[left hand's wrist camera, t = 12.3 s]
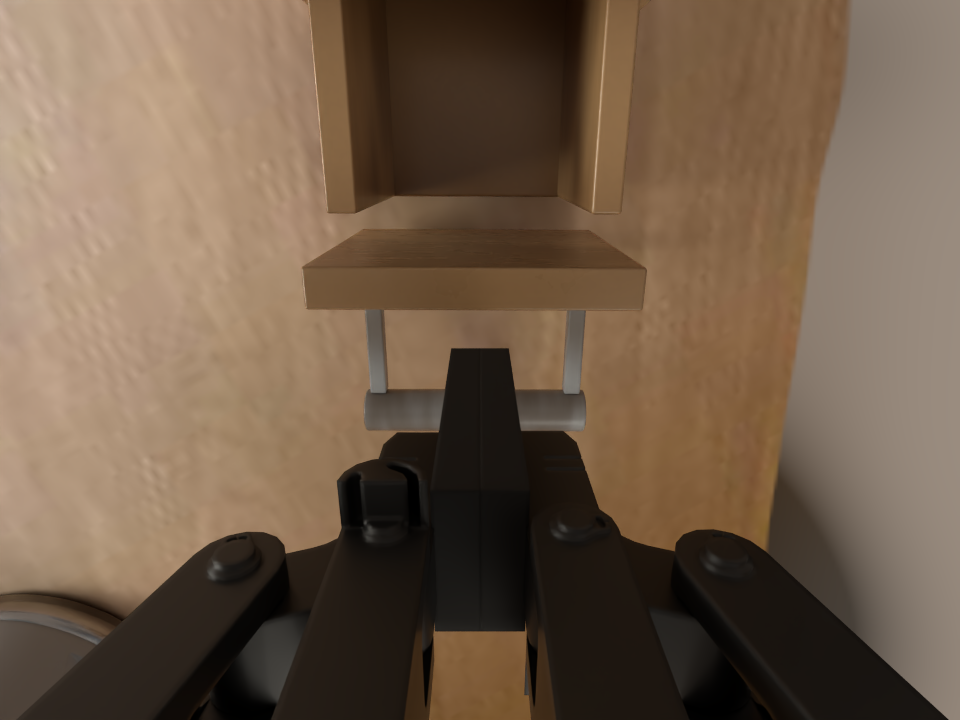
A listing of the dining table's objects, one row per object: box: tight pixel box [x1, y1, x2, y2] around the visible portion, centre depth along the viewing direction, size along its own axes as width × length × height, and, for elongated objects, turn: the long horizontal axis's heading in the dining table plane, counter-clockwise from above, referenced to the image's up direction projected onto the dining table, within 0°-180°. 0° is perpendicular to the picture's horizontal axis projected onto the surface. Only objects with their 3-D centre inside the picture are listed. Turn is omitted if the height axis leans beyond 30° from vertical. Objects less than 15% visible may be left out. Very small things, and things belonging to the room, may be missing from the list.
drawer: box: [301, 0, 647, 431], centre depth 17 cm, size 22×9×8 cm, turn 0°
